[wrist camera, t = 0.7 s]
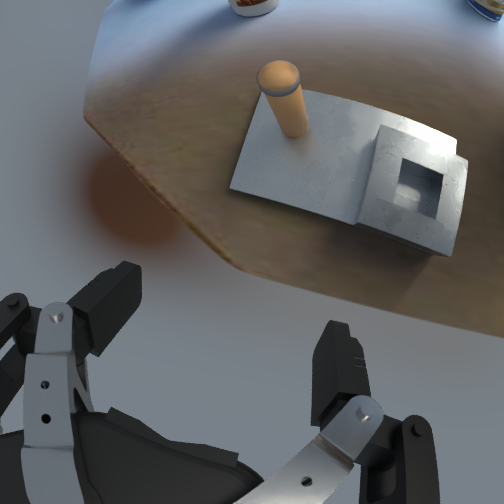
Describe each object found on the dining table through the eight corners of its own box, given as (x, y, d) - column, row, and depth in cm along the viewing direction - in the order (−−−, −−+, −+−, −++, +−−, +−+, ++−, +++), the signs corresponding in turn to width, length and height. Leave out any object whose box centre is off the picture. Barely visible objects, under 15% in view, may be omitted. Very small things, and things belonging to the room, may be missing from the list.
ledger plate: (267, 88, 29) (256, 66, 24) (452, 143, 23) (469, 128, 18) (232, 190, 31) (215, 180, 26) (432, 255, 25) (450, 257, 20)
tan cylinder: (283, 109, 28) (263, 58, 18) (312, 115, 27) (303, 63, 17) (275, 134, 28) (251, 89, 18) (305, 141, 27) (292, 95, 18)
